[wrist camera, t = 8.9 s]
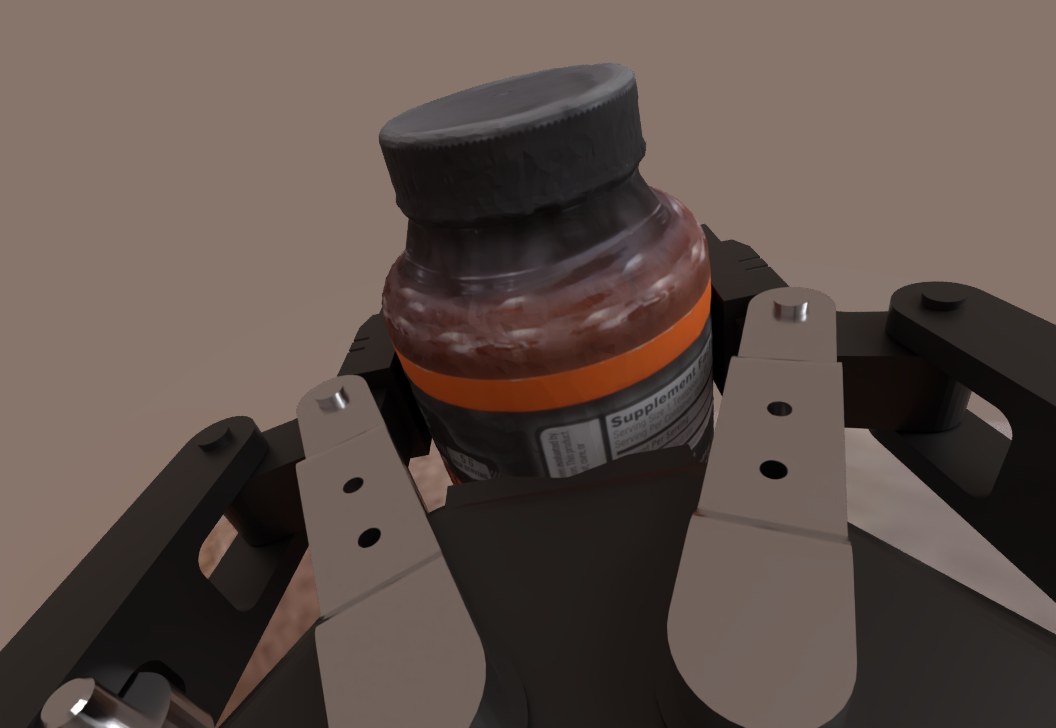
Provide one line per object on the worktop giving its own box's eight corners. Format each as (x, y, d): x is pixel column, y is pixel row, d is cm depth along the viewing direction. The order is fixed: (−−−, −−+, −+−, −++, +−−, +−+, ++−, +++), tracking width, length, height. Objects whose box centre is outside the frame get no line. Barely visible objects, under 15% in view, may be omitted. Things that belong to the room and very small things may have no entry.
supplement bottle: (461, 530, 16) (284, 135, 10) (621, 437, 18) (561, 51, 11) (567, 717, 11) (358, 185, 5) (771, 565, 13) (810, 28, 7)
